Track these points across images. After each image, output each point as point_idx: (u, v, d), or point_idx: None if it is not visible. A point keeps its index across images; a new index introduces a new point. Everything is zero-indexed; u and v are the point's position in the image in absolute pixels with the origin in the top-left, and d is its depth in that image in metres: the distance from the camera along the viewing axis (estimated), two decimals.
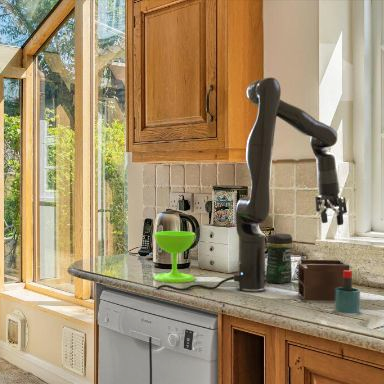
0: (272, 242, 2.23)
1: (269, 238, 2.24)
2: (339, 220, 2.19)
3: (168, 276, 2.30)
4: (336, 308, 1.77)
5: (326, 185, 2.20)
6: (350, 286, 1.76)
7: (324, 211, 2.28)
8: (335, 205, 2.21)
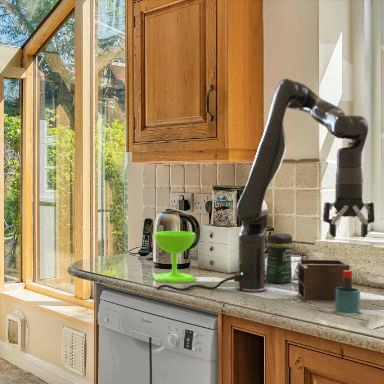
0: (272, 242, 2.23)
1: (269, 238, 2.24)
2: None
3: (168, 276, 2.30)
4: (336, 308, 1.77)
5: None
6: (350, 286, 1.76)
7: (363, 222, 1.76)
8: None
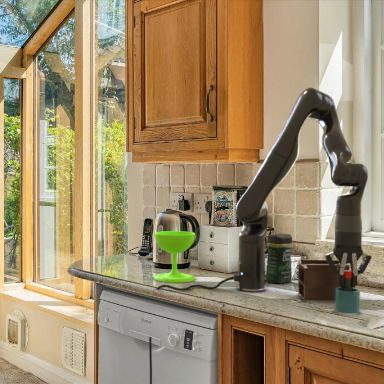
0: (272, 242, 2.23)
1: (269, 238, 2.24)
2: None
3: (168, 276, 2.30)
4: (336, 308, 1.77)
5: None
6: (350, 286, 1.76)
7: (352, 273, 1.76)
8: None
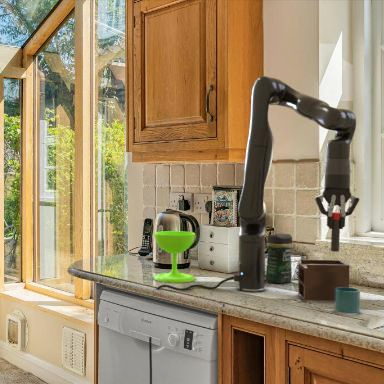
0: (272, 242, 2.23)
1: (269, 238, 2.24)
2: None
3: (168, 276, 2.30)
4: (336, 308, 1.77)
5: None
6: (338, 228, 1.83)
7: (341, 214, 1.84)
8: None
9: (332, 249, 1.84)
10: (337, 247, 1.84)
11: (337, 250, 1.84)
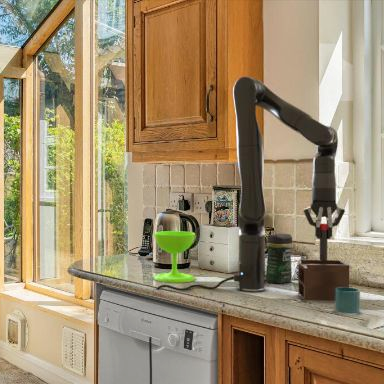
0: (272, 242, 2.23)
1: (269, 238, 2.24)
2: None
3: (168, 276, 2.30)
4: (336, 308, 1.77)
5: None
6: (326, 237, 1.95)
7: (328, 225, 1.95)
8: None
9: (321, 258, 1.95)
10: (325, 256, 1.95)
11: (325, 259, 1.95)
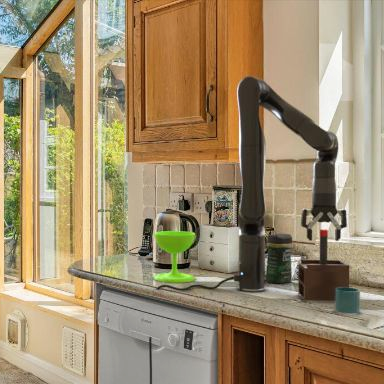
0: (272, 242, 2.23)
1: (269, 238, 2.24)
2: None
3: (168, 276, 2.30)
4: (336, 308, 1.77)
5: None
6: (326, 244, 1.95)
7: (336, 227, 1.95)
8: None
9: None
10: (325, 262, 1.95)
11: None
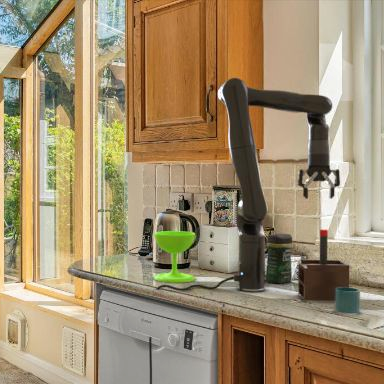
0: (272, 242, 2.23)
1: (269, 238, 2.24)
2: None
3: (168, 276, 2.30)
4: (336, 308, 1.77)
5: None
6: (326, 244, 1.95)
7: (330, 186, 2.10)
8: None
9: None
10: (325, 262, 1.95)
11: None
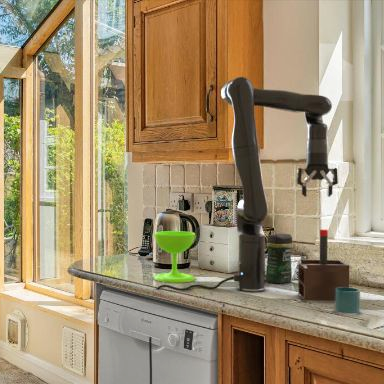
0: (272, 242, 2.23)
1: (269, 238, 2.24)
2: None
3: (168, 276, 2.30)
4: (336, 308, 1.77)
5: None
6: (326, 244, 1.95)
7: (328, 184, 2.15)
8: None
9: None
10: (325, 262, 1.95)
11: None
